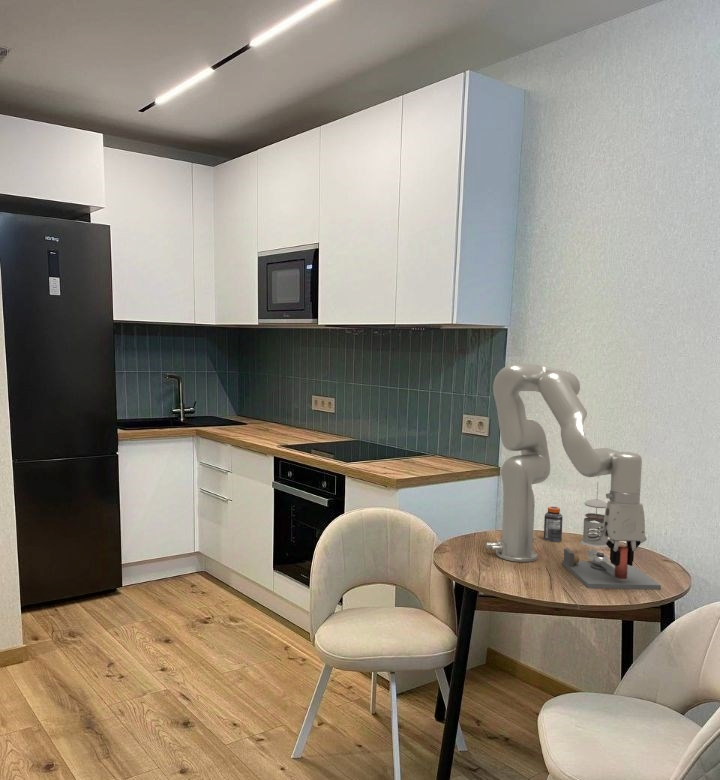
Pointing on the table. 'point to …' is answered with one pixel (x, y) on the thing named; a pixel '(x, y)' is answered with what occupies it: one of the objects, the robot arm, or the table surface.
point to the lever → (603, 561)
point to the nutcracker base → (605, 575)
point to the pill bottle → (553, 525)
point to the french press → (593, 524)
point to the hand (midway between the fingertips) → (621, 563)
